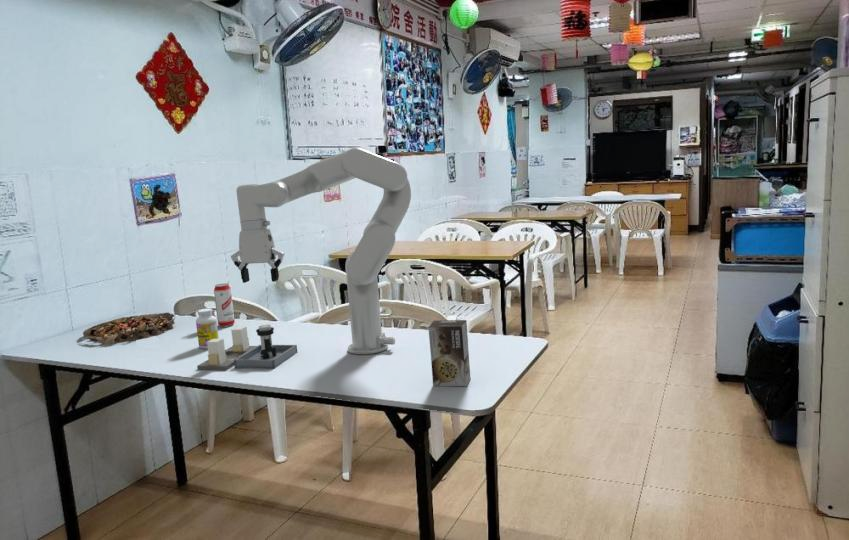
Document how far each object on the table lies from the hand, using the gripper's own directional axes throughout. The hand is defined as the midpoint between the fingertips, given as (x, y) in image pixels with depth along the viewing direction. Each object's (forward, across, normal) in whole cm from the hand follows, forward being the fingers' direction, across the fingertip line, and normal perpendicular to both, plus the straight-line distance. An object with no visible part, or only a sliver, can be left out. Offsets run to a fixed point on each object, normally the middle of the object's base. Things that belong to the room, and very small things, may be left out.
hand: (260, 281), depth 199 cm
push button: (+24, +1, +1) cm, 24 cm away
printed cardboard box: (+26, -61, +19) cm, 69 cm away
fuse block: (+24, +13, 0) cm, 28 cm away
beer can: (+25, +39, -42) cm, 62 cm away
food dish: (+25, +74, -33) cm, 85 cm away
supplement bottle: (+25, +29, -13) cm, 40 cm away
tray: (+25, 0, +1) cm, 25 cm away
